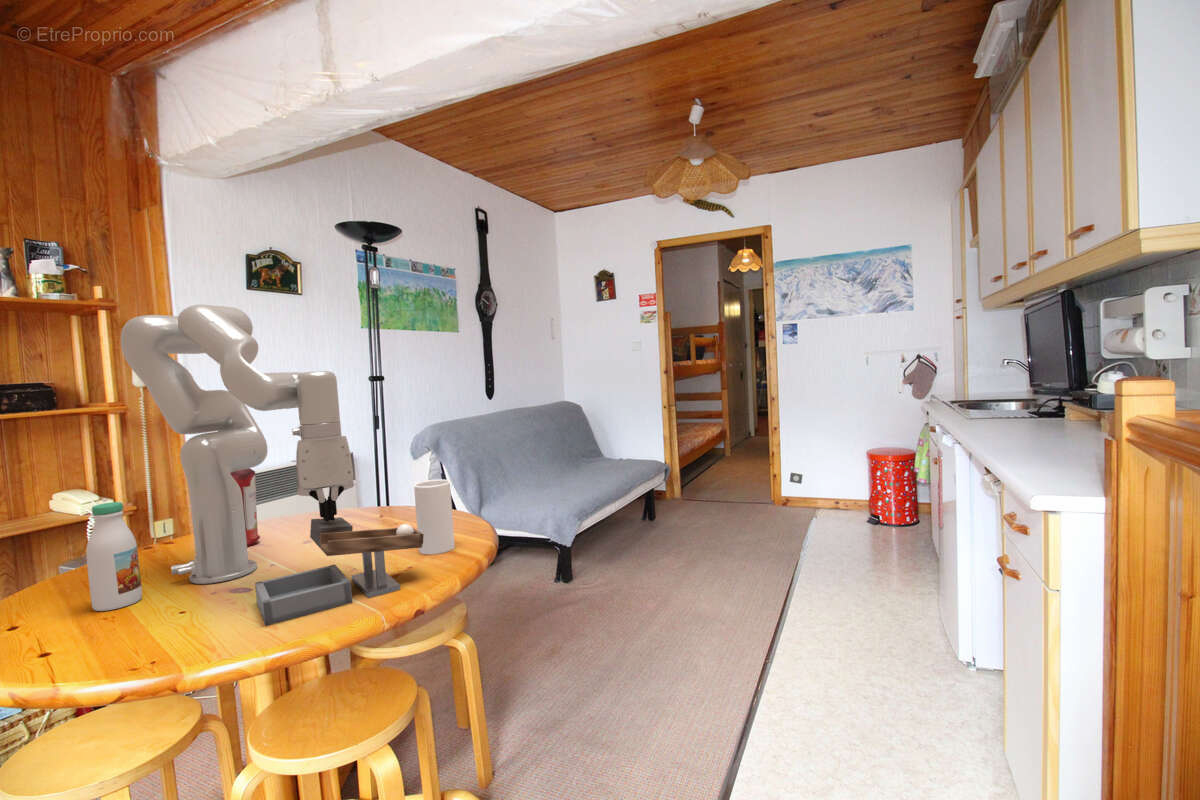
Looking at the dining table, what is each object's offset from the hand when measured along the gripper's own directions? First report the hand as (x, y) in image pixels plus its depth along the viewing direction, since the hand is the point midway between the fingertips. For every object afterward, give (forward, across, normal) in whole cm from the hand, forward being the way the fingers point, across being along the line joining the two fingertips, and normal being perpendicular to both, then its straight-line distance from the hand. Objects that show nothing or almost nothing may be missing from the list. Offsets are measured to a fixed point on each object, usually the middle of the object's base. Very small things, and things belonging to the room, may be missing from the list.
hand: (328, 519), depth 121 cm
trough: (+5, +6, -4) cm, 9 cm away
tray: (+13, -7, -9) cm, 17 cm away
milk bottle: (+13, -36, +18) cm, 42 cm away
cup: (+13, +24, +5) cm, 28 cm away
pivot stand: (+13, +6, -9) cm, 17 cm away
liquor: (+13, -12, +47) cm, 50 cm away
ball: (+4, +13, -9) cm, 16 cm away
